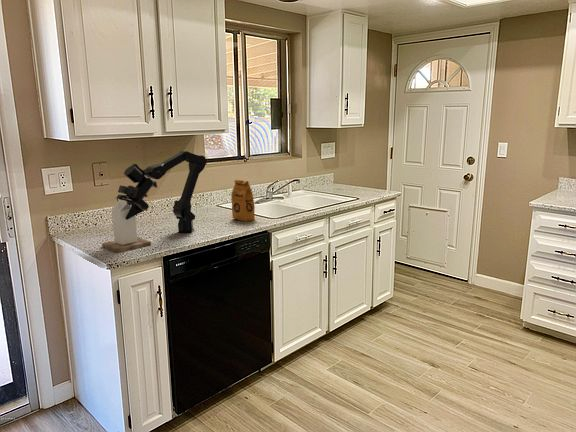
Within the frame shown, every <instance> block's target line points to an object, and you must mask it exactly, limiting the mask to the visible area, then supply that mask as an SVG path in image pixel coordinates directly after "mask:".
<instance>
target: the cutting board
mask: <svg viewBox="0 0 576 432" xmlns="http://www.w3.org/2000/svg"><path fill="white" fill-rule="evenodd" d="M151 245H152V242H151V241H150V240H146V238H145V239H144V238H142V237H139V236H137V242H133V243H129V244H125V245H121V244H118V243H115V241H114V240H111V241H106V242H101V246H102V247H103V248H104V247H105V249H106V250H109V251H111V252H113V253H114V254H115V253H116V254H118V253H122V252H126V251H130V250H135V249H138V248H139V249H140V248H144V247H148V246H151Z"/></svg>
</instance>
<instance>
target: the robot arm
mask: <svg viewBox="0 0 576 432" xmlns="http://www.w3.org/2000/svg"><path fill="white" fill-rule="evenodd" d="M184 161H185V162H187V163H188V169H189V170H188V171H189V172H188V175H187V177H186V181H185V184H184V187H183V189H182V193H181V196H180V197H179V199H178V200H175V201H174V203H173V206H172V213H173V215H174V216H175V219H176V220H178V222H177V231H178V233H179V234H183V233H184V234H187V233H188V234H190V233H191V234H192V233H193V232H194V231H195V228H194V220H195V219H196V215H195V213H193V212H192V202H191V200H192V197H193V196H194V195H193V194H194V191H195V188H196V186H197V182H198V178H199V176H200V173H201V172H203V171H204V170H205V168H206V165H207V161H208V160H207V157H205V156H204V155H199V154H198V155H197V154H195V153H193V152H192V153H191V152H190V151H189V150H181V151H179V152H178V153H177V154H175V155H173V156H171V157H169V158H167V159H165V160H164V161H162V162H160V163H156V164H151V165H149V166H147V167H146V168H145V169H142V168H141V167H139V165H138V164H137V163H132V165H130V166H128V167H127V168H126V169H125V170H124V173H123V175H124V176H125V177H126V178H128V179H129V181H131V182H132V183H134V184H136V185H135V186H133V185H131V184H129V185H127V186H125V185H119V187H118V190H117V193H119V194H118V195H117V196H116V197H115V199H116V202H118V199H119V200H124V201H127V204H128V205H130V206H131V209H130V211H129V212H128V214H127V216H126V218H125V219H126V220H128V219H130V218H132V217H133V216H135V217H136V216H137V215H138V214H141V213H142V212H143V213H144V211H146V212H147V210H148V209H149V208H150V207H149V206H150V205H149V203H147V202H146V201H145V200H144V198H147V197H148V194H149V193H148V192H149V191H150V190H151V189H152V188H155V189H157V188H158V183H157V181H154V180H160V179H162V178H163V177H164V176H166V173H167V172H168V171H170V170H171V169H173V168H175V167H176V166H178V165H180V164H181V163H183V162H184Z"/></svg>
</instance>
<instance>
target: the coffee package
mask: <svg viewBox="0 0 576 432" xmlns="http://www.w3.org/2000/svg"><path fill="white" fill-rule="evenodd" d="M233 182H234V185H233V188H232V191H231V193H230V195H231V213H232V219H235V220H239V221H242V222H245V223H246V222H251V221H255V201H254V200H255V199H254V195H253V191H252V189H251V186H250V182H249V181H248V180H241V179H234V181H233Z"/></svg>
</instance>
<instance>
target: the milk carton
mask: <svg viewBox="0 0 576 432" xmlns="http://www.w3.org/2000/svg"><path fill="white" fill-rule="evenodd" d="M130 209H131V206H130V205H128V204H127V201H124V200H119V199H118V201H117V202H116V203H115V205H114V206H113V207H112V208H111V215H112V216H111V219H112V227H113V238H114V239H113V241H115V243H118V244H121V245H125V244H129V243H133V242H137V237H138V232H137V219H136V215H135V216H133V217H132V218H130V219H128V220H126V219H125V218H126V216H127V214H128V212H129V211H130Z"/></svg>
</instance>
